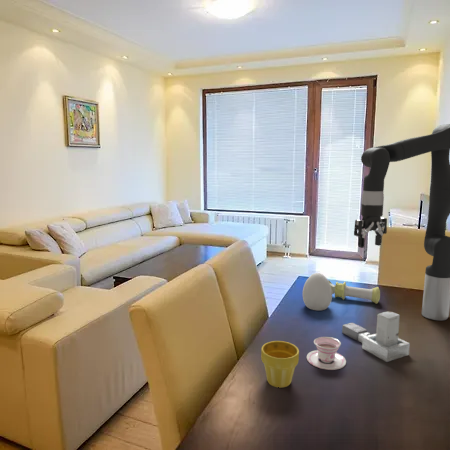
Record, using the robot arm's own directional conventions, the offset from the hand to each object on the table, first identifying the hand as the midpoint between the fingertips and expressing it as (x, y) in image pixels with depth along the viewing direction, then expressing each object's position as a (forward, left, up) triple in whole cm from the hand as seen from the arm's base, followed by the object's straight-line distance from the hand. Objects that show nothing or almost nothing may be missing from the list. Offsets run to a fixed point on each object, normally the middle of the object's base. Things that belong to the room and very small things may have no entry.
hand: (369, 246), depth 144 cm
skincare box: (+12, +20, -30) cm, 38 cm away
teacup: (+33, +16, -30) cm, 48 cm away
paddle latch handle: (+12, +14, -30) cm, 35 cm away
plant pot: (+53, +19, -30) cm, 64 cm away
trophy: (-12, -24, -31) cm, 41 cm away
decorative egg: (+6, -21, -30) cm, 37 cm away
